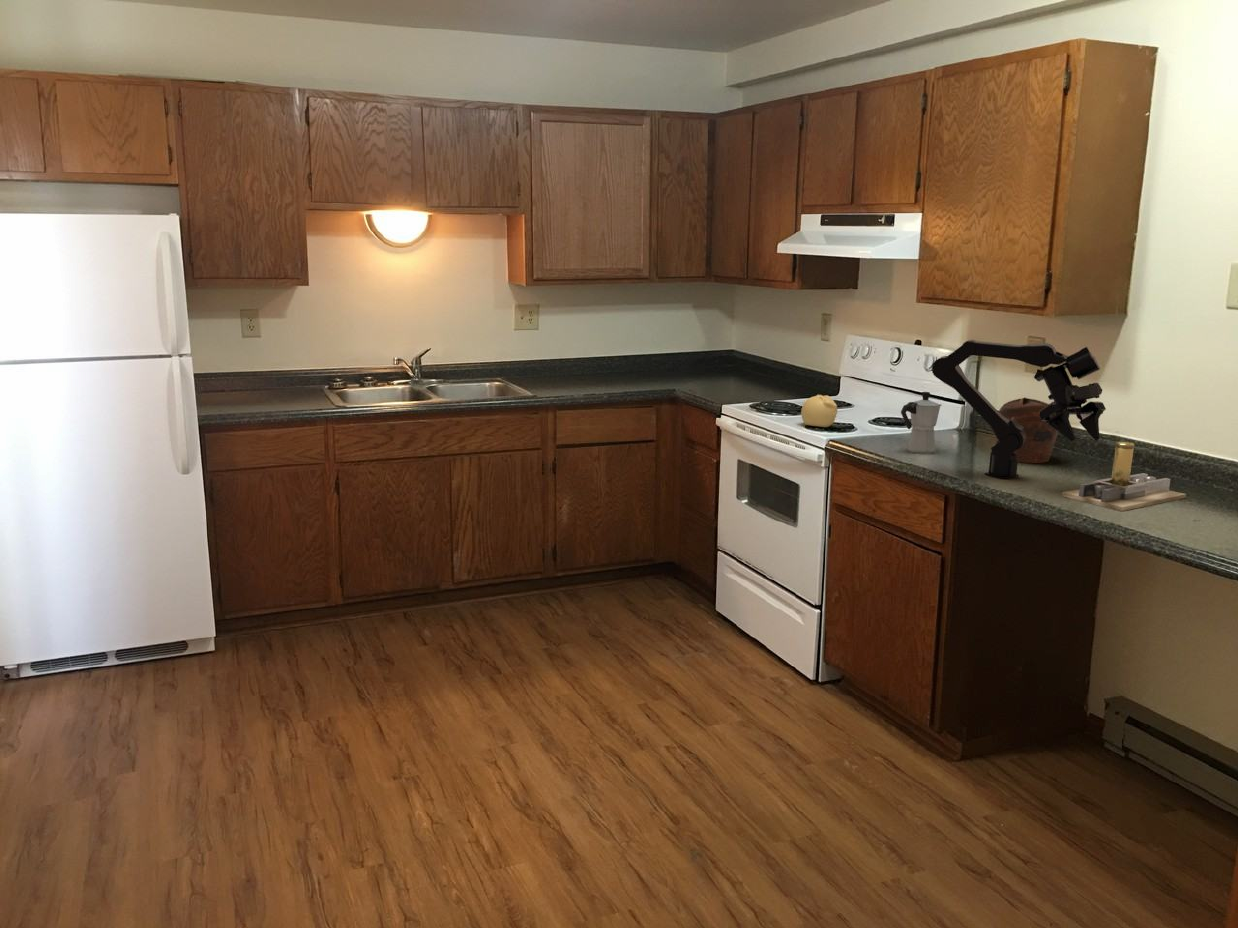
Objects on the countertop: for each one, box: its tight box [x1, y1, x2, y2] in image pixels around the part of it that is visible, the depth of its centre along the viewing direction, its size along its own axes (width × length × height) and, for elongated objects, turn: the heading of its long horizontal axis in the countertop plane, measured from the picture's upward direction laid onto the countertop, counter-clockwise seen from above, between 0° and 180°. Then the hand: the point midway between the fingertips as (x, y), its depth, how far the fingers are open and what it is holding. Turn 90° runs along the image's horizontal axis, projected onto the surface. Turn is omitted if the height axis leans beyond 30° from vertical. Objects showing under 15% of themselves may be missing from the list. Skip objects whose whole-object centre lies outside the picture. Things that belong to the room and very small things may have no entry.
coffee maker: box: [900, 391, 942, 455], centre depth 301 cm, size 15×9×18 cm, turn 113°
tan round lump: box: [800, 394, 838, 428], centre depth 340 cm, size 12×12×11 cm
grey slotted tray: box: [1078, 472, 1171, 503], centre depth 252 cm, size 8×27×3 cm, turn 121°
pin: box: [1110, 441, 1135, 486], centre depth 249 cm, size 4×4×13 cm
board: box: [1061, 488, 1187, 512], centre depth 252 cm, size 16×27×1 cm, turn 122°
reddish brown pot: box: [998, 396, 1059, 464], centre depth 294 cm, size 18×20×18 cm
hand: (1085, 440), depth 254 cm, fingers open, 9 cm apart
